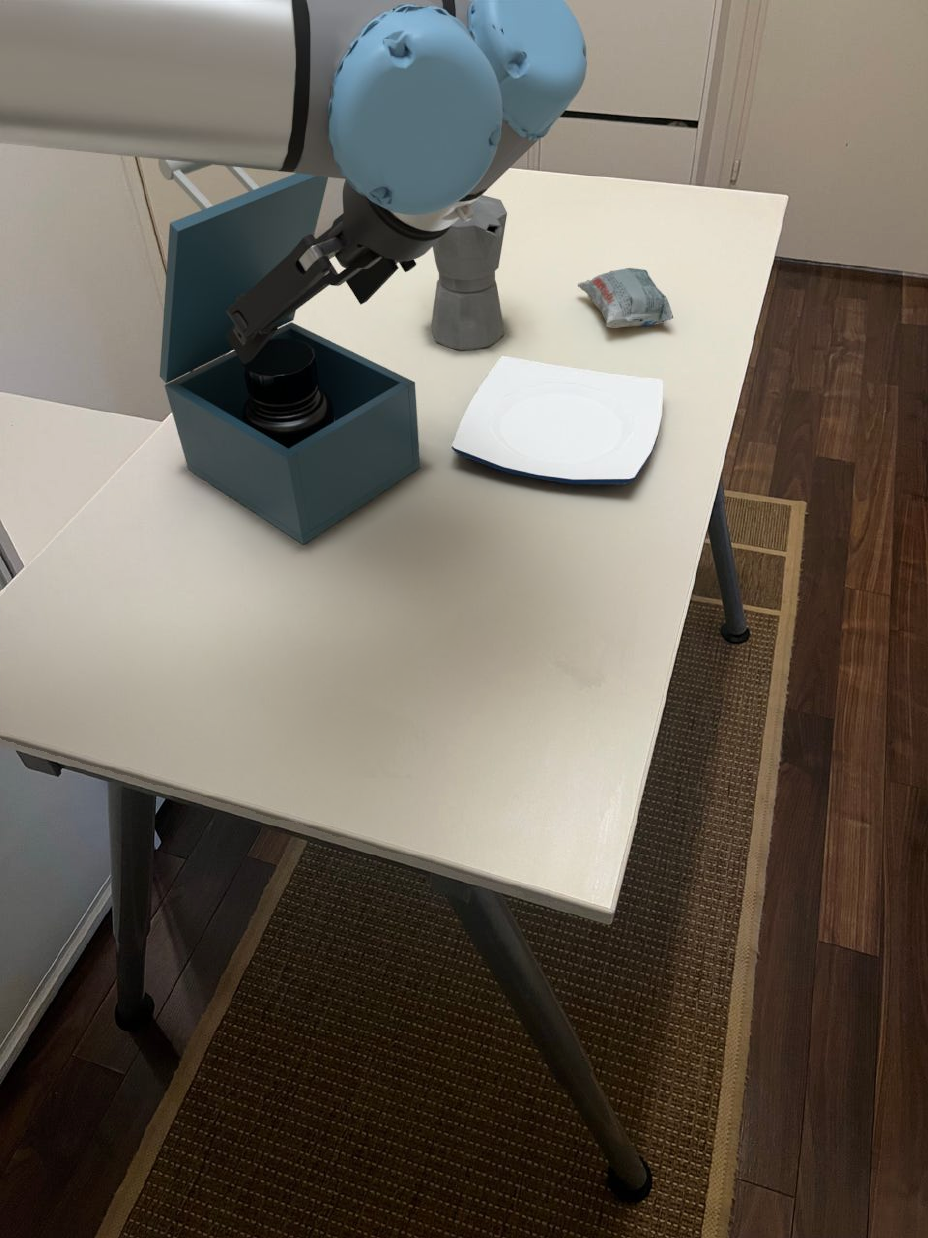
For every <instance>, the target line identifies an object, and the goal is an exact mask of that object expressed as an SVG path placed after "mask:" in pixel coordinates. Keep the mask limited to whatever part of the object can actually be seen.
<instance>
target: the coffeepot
mask: <svg viewBox="0 0 928 1238" xmlns="http://www.w3.org/2000/svg"><path fill="white" fill-rule="evenodd" d="M470 207H471V208H472V210H473V212H474V214H473V217H472V218H471V219H470V220H469V221H462V220H461V219H460V218H459V219H458V220H457V221H456V222H455V223H454V224H452V225H451V227H450V229H449V230H448V231H447V232H446V233H445V234H444V235H443V236H442V237H441V238H440V239H439V240H438V241H437V242H436V243H435V244H434V245H433V247H432V251H433V257H434V262H435V265H436V269H437V272H438V279H437V281H436V287H435V293H434V302H433V310H432V316H431V324H430V328H431V331H432V336H433V338H434V341H435V342H437V343H438V344H440V345H441V346H444V347H446V348H449V349H453V350H457V351H476V350H481V349H486V348H489V347H490V346H493V345H494V344H496V343H497V342H498V341H499V340H500V339H501V337H502V336H503V335H505V327H504V321H503V315H502V309H501V303H500V296H499V291H498V284H497V281H496V271H497V270H498V269H499V267H500V261H501V254H502V249H503V248H502V247H503V241H504V236H505V229H506V228H505V227H506V224H507V216H508V211H507V210H506V208H505V205H504V203H503V202H502V200H501V199H499V198H495V197H492V196H487V195H484V194H482V195H481V196H480V197H479V198H478V199H477V200H476V201H474V202H473V203H472V204H471V206H470Z"/></svg>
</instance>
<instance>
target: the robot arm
mask: <svg viewBox="0 0 928 1238" xmlns="http://www.w3.org/2000/svg"><path fill="white" fill-rule="evenodd" d="M587 66H588V60H587V45H586V41H585V36H584V34H583V31H582V28H581V26H580V23H579V22H578V20H577V17H576V16H575V14H574V12H573V11H572V9H571V8H570V6H569V5H568V3H567V2H566V1H565V0H0V144H6V145H15V146H25V147H26V146H27V147H34V148H35V147H36V148H44V149H45V148H46V149H55V150H63V151H64V150H65V151H66V150H67V151H75V152H86V153H93V154H94V153H95V154H105V155H113V156H114V155H115V156H124V157H126V156H127V157H134V158H144V159H152V160H153V159H154V160H159V159H163V160H172V161H182V162H192V163H202V164H212V165H211V166H213V165H214V166H221V167H225V166H232V167H241V168H242V169H252V170H260V171H261V170H263V171H270V172H271V171H272V172H282V173H293V174H296V173H299V174H307V175H315V176H323V177H328V178H333V179H341V180H344V183H343V187H342V210H343V211H342V212H343V213H342V214H340V215H339V216H338V217H336V218H335V219H334V221H333V222H332V225H331V227H330V228H328V229H327V230H326V231H325V232H323V233H322V234H321V235H319V236H318V237H317V238H316V237H315V234H314V235H313V234H309V235H306V236H304V237H303V238H302V240H301V241H300V242H299V243H298V244H297V246H296V247H295V248H294V249H293V250H292V252H291V253H290V254H289V255H288V256H287V257H286V258H285V259H283V260H282V261H281V262H280V263H279V264H278V265H277V266H276V267H275V268H273V269H272V270H271V271H270V272H269V273H268V274H267V275H266V276H265V277H263V278H262V279H261V280H260V281H259V282H258V283H257V284H256V285H255V286H253V287H252V288H251V289H250V290H249V291H248V292H247V293H246V294H239V295H238V296H237V300H238V301H237V302H236V303H234V304H233V305H231V306H230V307H229V309H228V310H227V311H226V312H227V313H228V315H229V316H230V318H231V320H232V321H233V323H234V326H233V327H232V328H231V330H230V331H229V333H228V334H227V335H226V339H227V340H228V342H229V343H230V345H231V346H232V348H233V349H234V350H233V351H235V352H236V354H237V355H238V357H239V358H240V360H241V361H242V363H243V364H244V365H245V364H247V363H249V362H251V361H252V360H253V359H254V357H255V356H256V355H257V354H258V352H259V351H260V350H261V349H262V348H263V346H264V345H265V344H266V343H267V342H268V340H269V339H270V338H271V337H272V335H273V334H274V333H275V332H276V331H277V329H278V328H277V327H276V325H277V324H278V323H280V322H281V321H282V320H284V319H285V318H286V317H287V316H289V315H290V314H291V313H293V312H294V311H295V310H296V311H297V310H299V309H300V308H301V307H302V306H303V305H305V304H306V303H307V302H309V301H310V300H312V299H313V298H314V297H316V296H317V295H318V294H319V293H321V292H322V291H324V290H325V289H326V288H327V287H329V286H335V287H339V286H342V285H343V284H344V283H346V284H347V286H348V287H349V289H350V291H351V292H352V294H353V295H354V297H355V298H356V300H357V302H358V303H359V305H363V304H365V303H367V302H368V301H369V300H370V299H371V298H372V297H373V296H374V295H375V293H376V292H377V291H378V290H380V288H382V286H383V285H384V284H385V283H386V282H387V281H388V280H389V279H390V278H391V277H392V276H393V275H394V274H395V273H396V272H397V271H398V269H399V268H400V267H401V268H402V270H403V271H404V272H405V273H407V272H409V271H411V270H412V269H413V268H415V267H416V266H417V262H416V259H419V258H421V257H422V256H424V255H426V254H427V253H428V252H429V251H430V250H432V249H433V245H434V244H435V243H436V242H437V241H438V240H439V239H440V238H441V237H442V236H443V235H444V234H445V233H446V232H447V231H448V230H449V229H450V227H451V225H452V224H454V223H455V222H456V221H457V220H458V219H459V218H460V219H461V220H462V221H469V220H470V219H471V218H472V217H473V214H474V212H473V210H472V208H471V207H470V206H471V204H472V203H473V202H474V201H476V200H477V199H478V198H479V197H480V196H481V195H484V194H485V193H486V192H487V191H488V189H490V188H491V187H492V186H493V185H494V184H495V183H496V182H497V181H498V180H499V179H500V178H501V177H502V176H503V175H504V174H505V173H506V172H507V171H509V169H510V168H512V167H513V165H514V164H516V163H517V161H518V160H520V158H522V157H523V155H524V154H526V153H527V152H528V151H529V150H530V148H532V147H533V146H534V145H535V144H536V143H537V142H538V141H539V140H541V139H543V138H545V136H546V135H548V133H549V131H550V130H551V128H552V126H553V125H554V124H555V123H556V121H557V120H558V119H559V118H560V117H561V116H562V115H563V114H564V112H565V111H566V110H567V109H568V108H569V106H570V105H571V103H572V102H573V100H574V99H575V98H576V97H577V96H578V94H579V92H580V90H581V89H582V87H583V84H584V82H585V80H586V75H587V74H586V73H587V68H588V67H587ZM334 257H335V259H336V260H337V263H339V265H340V266H341V267H342V268H344V269H343V270H342V271H340V272H339V273H338V271H337V269H336V267H335V266H334V265H333V263H332V261H331V259H333V258H334ZM398 263H399V265H400V267H399V266H398Z"/></svg>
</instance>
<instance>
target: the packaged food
mask: <svg viewBox="0 0 928 1238" xmlns="http://www.w3.org/2000/svg"><path fill="white" fill-rule="evenodd" d="M577 287H578V288H579V289H581V291H583V292H584V293H586V294H587V298H588V299H589V300H590V301H592V303H593V304H594V305H595V306H596V307H597V308H598V310H599V311H600V312H601V314H602V316H603V318H604V320H605V322H606V323H605V324H606V328H611V329H618V328H631V327H639V326H650V325H651V326H652V325H658V324H659V325H660V324H663V323H665V322H668V321H671V320H672V319H674V315H673V311H672V309H671V306H670V302H669V300H668V298H667V296H666V295H665V294H664V293H663V292H662V291H661V290H660V289H659V288H658V287H657V285H656V284H655V282H654V281H653V280H652V278H651V276H650V274H649V273H648V270H647V269H644V268H643V269H642V268H635V267H634V268H633V267H625V268H621V269H614V270H610V271H609V272H605V273H602V274H599V275H597V276H594V277H593V278H592V279H587V280H585V281H581V282H578V283H577Z"/></svg>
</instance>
